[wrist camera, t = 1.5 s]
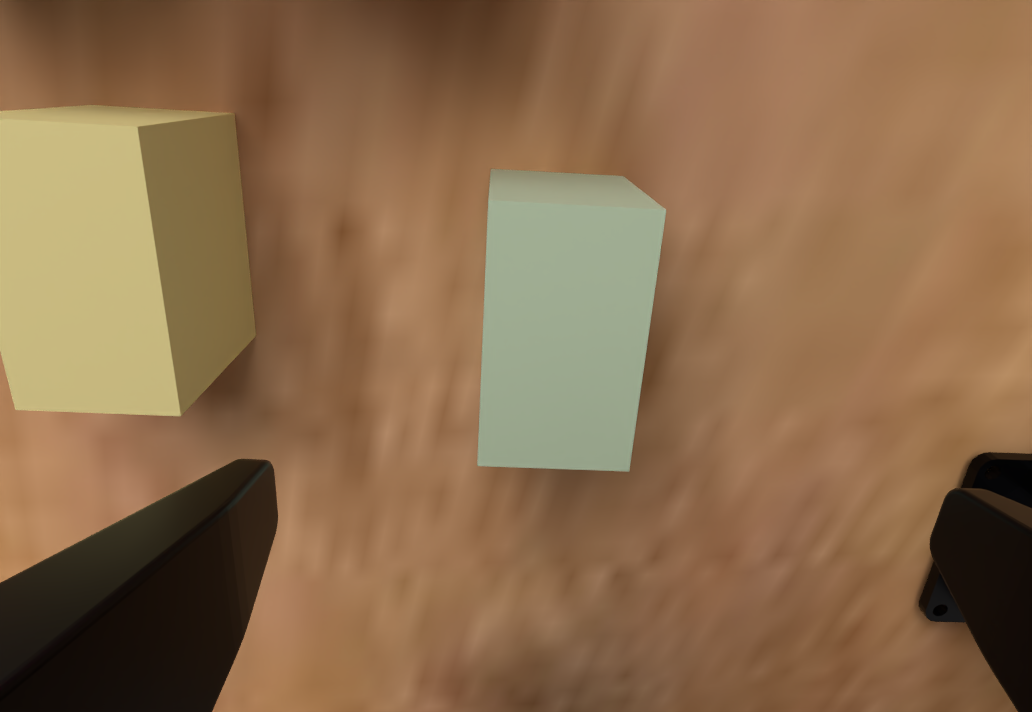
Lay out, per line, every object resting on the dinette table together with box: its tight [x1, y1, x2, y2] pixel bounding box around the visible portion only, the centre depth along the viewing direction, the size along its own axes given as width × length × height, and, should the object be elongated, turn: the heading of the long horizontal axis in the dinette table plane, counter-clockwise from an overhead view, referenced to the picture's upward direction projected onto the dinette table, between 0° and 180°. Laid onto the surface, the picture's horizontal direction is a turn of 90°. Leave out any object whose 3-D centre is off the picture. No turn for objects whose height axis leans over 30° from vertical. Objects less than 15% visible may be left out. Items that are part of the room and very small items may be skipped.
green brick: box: [477, 169, 666, 471], centre depth 17 cm, size 6×4×5 cm, turn 177°
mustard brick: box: [0, 105, 256, 416], centre depth 16 cm, size 6×4×5 cm, turn 177°
